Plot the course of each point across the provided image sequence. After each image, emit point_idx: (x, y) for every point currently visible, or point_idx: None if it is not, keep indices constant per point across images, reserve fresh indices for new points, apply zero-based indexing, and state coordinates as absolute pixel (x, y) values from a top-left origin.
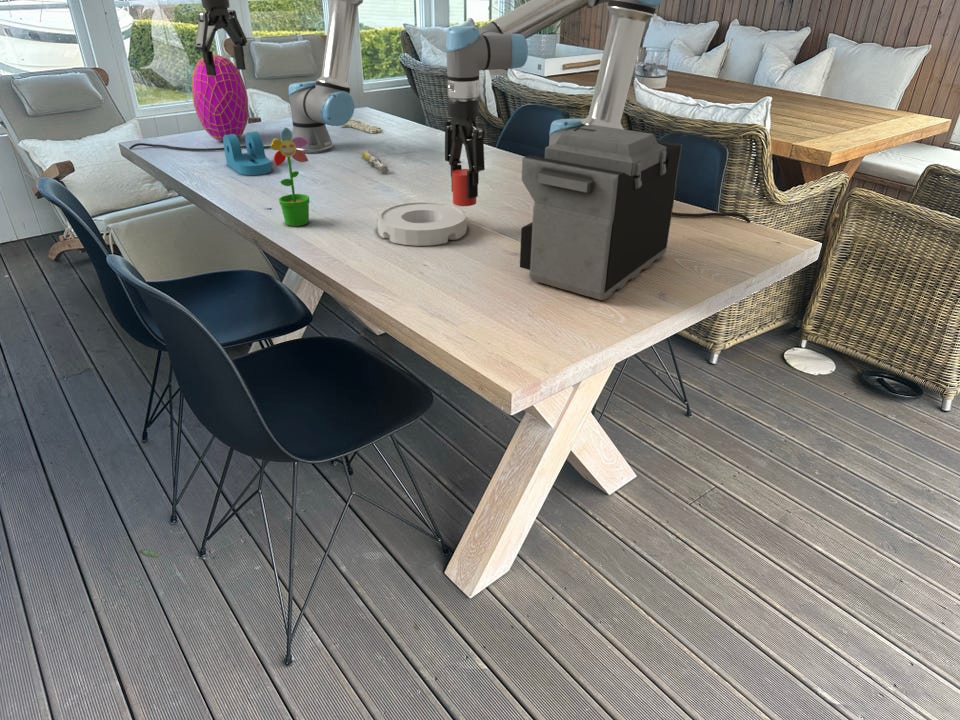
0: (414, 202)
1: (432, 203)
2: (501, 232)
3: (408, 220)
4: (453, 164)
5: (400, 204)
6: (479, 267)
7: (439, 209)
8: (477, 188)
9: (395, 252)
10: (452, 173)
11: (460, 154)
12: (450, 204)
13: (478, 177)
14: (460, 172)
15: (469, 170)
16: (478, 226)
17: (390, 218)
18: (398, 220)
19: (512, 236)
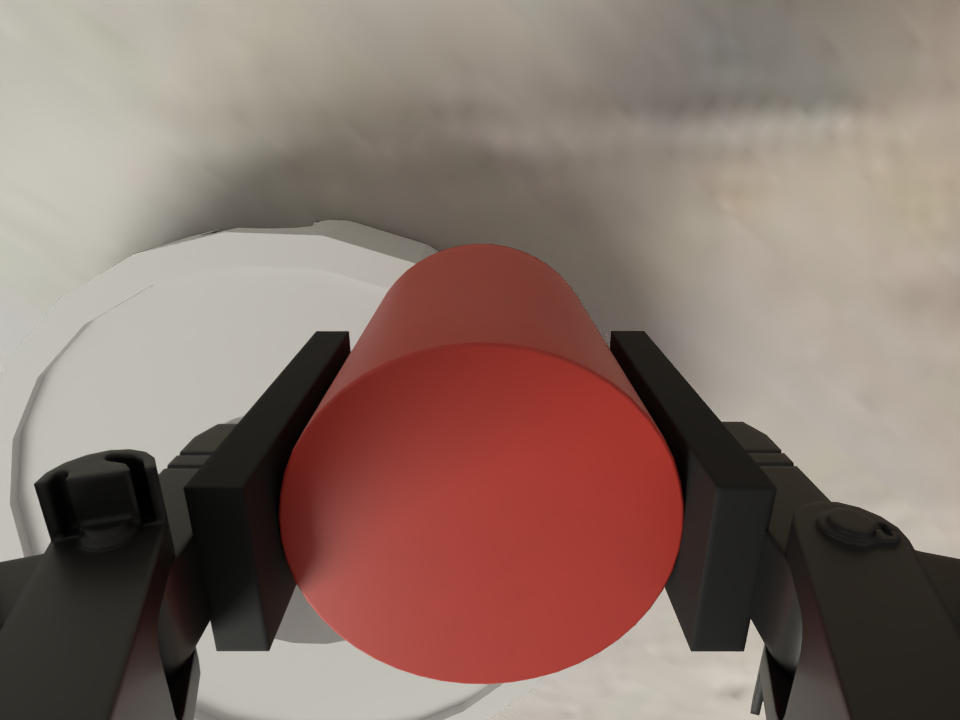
0: (7, 447)
1: (72, 341)
2: (663, 91)
3: None
4: (202, 631)
5: (15, 542)
6: (946, 539)
7: (223, 368)
8: (670, 366)
9: (521, 713)
10: (403, 662)
11: (122, 684)
12: (175, 248)
13: (806, 477)
14: (464, 587)
15: (760, 671)
16: (460, 152)
17: (238, 683)
18: (296, 668)
19: (777, 78)
